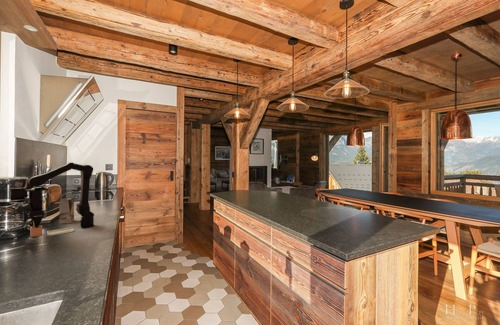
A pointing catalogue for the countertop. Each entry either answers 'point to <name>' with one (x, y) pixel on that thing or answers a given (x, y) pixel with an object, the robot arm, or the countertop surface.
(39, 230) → the orange open box
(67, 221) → the coffee box
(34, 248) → the countertop surface
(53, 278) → the countertop surface
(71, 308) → the countertop surface
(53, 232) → the tray
